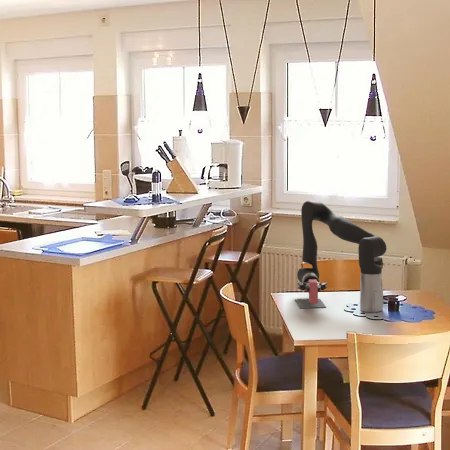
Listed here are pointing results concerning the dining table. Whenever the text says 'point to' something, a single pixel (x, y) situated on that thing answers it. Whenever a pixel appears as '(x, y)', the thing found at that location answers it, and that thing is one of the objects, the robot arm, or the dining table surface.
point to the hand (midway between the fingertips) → (313, 289)
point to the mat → (306, 304)
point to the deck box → (313, 291)
